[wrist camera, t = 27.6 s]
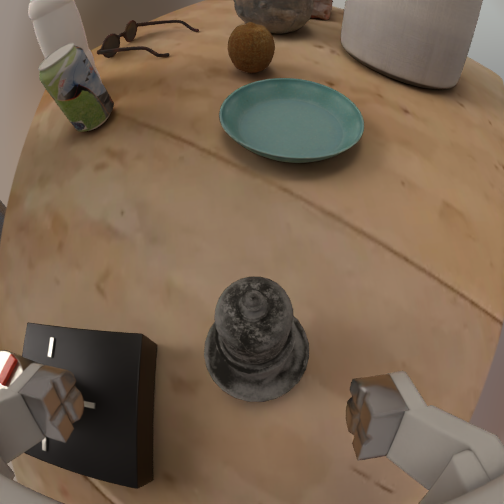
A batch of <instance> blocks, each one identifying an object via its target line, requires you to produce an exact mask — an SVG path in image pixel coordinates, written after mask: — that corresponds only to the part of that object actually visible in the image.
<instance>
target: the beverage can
mask: <svg viewBox="0 0 504 504" xmlns="http://www.w3.org/2000/svg"><path fill="white" fill-rule="evenodd" d="M39 71H40V81H41V83H42V84H43V85H44V87H45V88H46V90H47V91H48V92H49V94H50V95H51V96H52V98H53V99H54V101H55V102H56V103H57V105H58V106H59V107H60V109H61V110H62V111H63V113H64V114H65V115H66V117H67V118H68V119H69V121H70V122H71V123H72V125H73V126H74V127H75V129H76V130H77V131H80V132H84V131H90V130H93V129H95V128H97V127H99V126H100V125H101V124H103V123H104V122H105V121H106V120H107V119H108V117H109V116H110V113H111V111H112V110H113V107H114V102H113V101H112V99H111V97H110V96H109V94H108V92H107V90H106V89H105V87H104V85H103V84H102V82H101V80H100V79H99V77H98V75H97V73H96V72H95V70H94V68H93V67H92V65H91V63H90V61H89V60H88V58H87V56H86V54H85V53H84V51H83V49H82V48H80V47H78V46H75V45H74V43H69V44H66V45H64V46H62V47H60V48H59V49H57V50H56V51H54V52H53V53H51V54H50V55H49V56H48V57H47V58H46V59H45V60H44V61H43V62H42V63H41V64H40V66H39Z"/></svg>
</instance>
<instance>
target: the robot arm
mask: <svg viewBox="0 0 504 504" xmlns="http://www.w3.org/2000/svg"><path fill="white" fill-rule="evenodd" d="M75 384H76V379H75V377H74V375H73V373H72V372H71V371H69V370H65V369H61V368H56V367H52V366H48V365H42V364H38V363H32V364H30V365H29V366H28V367H27V368H26V369H25V370H24V371H23V372H22V373H21V374H20V375H19V376H18V378H17V379H16V380H15V381H14V382H13V383H12V384H11V385H10V386H9V387H8V388H7V389H6V388H3V389H0V504H64V503H62V502H59V501H57V500H54V499H52V498H49V497H47V496H45V495H43V494H40V493H38V492H36V491H34V490H32V489H30V488H28V487H26V486H24V485H22V484H20V483H18V482H16V481H14V480H13V478H14V476H15V475H14V472H13V471H12V470H11V469H10V467H9V466H8V465H7V463H9V462H10V461H12V460H13V459H15V458H16V457H18V456H19V455H21V454H22V453H24V452H25V451H27V450H28V449H30V448H31V447H33V446H34V445H36V444H37V443H39V442H40V441H42V440H43V439H45V437H48V438H51V439H54V440H57V441H61V442H64V443H66V441H67V440H68V438H69V436H70V435H71V433H72V431H73V430H74V427H73V423H74V422H76V421H78V420H79V419H80V418H81V416H82V414H83V410H84V400H83V396H82V394H81V392H80V391H79V390H78V389H77V388H76V387H75ZM350 392H351V395H352V397H351V398H350V399H349V400H348V401H347V406H346V424H347V428H348V431H349V432H350V433H351V434H353V435H354V439H353V442H352V445H353V448H354V451H355V454H356V457H357V461H358V460H365V459H371V458H377V457H382V456H387V458H388V459H389V460H391V461H392V462H393V463H394V464H396V465H397V466H398V467H399V468H401V469H402V470H403V471H404V472H406V473H407V474H408V475H409V476H411V477H412V478H413V479H414V480H416V481H417V482H418V483H420V484H421V485H422V486H423V487H425V488H426V489H427V490H429V491H428V492H427V493H426V495H425V496H424V497H423V499H422V500H421V501H420V502H419V504H504V445H503V444H502V442H501V441H500V440H499V438H498V437H497V435H495V434H492V433H490V432H488V431H486V430H484V429H481V428H479V427H477V426H475V425H473V424H471V423H468V422H466V421H464V420H462V419H460V418H458V417H456V416H454V415H452V414H449V413H447V412H445V411H443V410H441V409H439V408H437V407H435V406H433V405H430V406H427V404H426V403H425V401H424V400H423V398H422V396H421V395H420V393H419V392H418V390H417V389H416V387H415V385H414V384H413V382H412V381H411V379H410V378H409V376H408V375H407V373H406V372H404V371H398V372H393V373H387V374H383V375H377V376H370V377H362V378H355V379H353V380H352V382H351V386H350Z"/></svg>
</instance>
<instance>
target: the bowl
mask: <svg viewBox="0 0 504 504" xmlns="http://www.w3.org/2000/svg"><path fill="white" fill-rule="evenodd" d="M234 2H235V10H236V13H237V15H238V16H239V17H240V18H241V19H242V20H243V21H244V22H245V23H248V22H253V23H255V24H258V25H262V26H265V27H266V28H267V30H268V31H269V32H270V33H276V34H281V33H288V32H291V31H295V30H297V29H299V28H301V27H302V26H304V25H305V24H306V22H307V21H308V20H309V19H310V17H311V15H312V12H313V4H314V0H234Z"/></svg>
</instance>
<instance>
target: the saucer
mask: <svg viewBox="0 0 504 504" xmlns="http://www.w3.org/2000/svg"><path fill="white" fill-rule="evenodd" d="M219 118H220V122H221V125H222V127H223V128H224V130H225V131H226V133H227V134H228V135H229V136H230V137H231V138H232V139H234V140H235V141H236V142H237V143H239V144H240V145H241V146H243V147H244V148H246V149H248V150H250V151H252V152H254V153H256V154H258V155H260V156H263V157H266V158H269V159H273V160H277V161H282V162H290V163H306V162H315V161H320V160H324V159H328V158H331V157H334V156H336V155H338V154H340V153H342V152H344V151H346V150H347V149H349V148H351V147H352V146H353V145H355V144H356V143H357V142H358V141H359V139H360V138H361V136H362V134H363V131H364V120H363V117H362V115H361V112H360V111H359V109H358V108H357V107H356V105H355V104H354V103H353V102H352V101H351V100H350V99H348V98H347V97H346V96H344V95H343V94H341V93H340V92H338V91H336V90H334V89H332V88H330V87H327V86H325V85H322V84H319V83H315V82H312V81H307V80H302V79H293V78H274V79H266V80H261V81H256V82H253V83H250V84H247V85H245V86H242V87H240V88H238V89H237V90H235V91H234V92H233V93H231V94H230V95H229V96H228V97H227V98H226V99H225V100H224V102H223V104H222V105H221V108H220V113H219Z"/></svg>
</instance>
